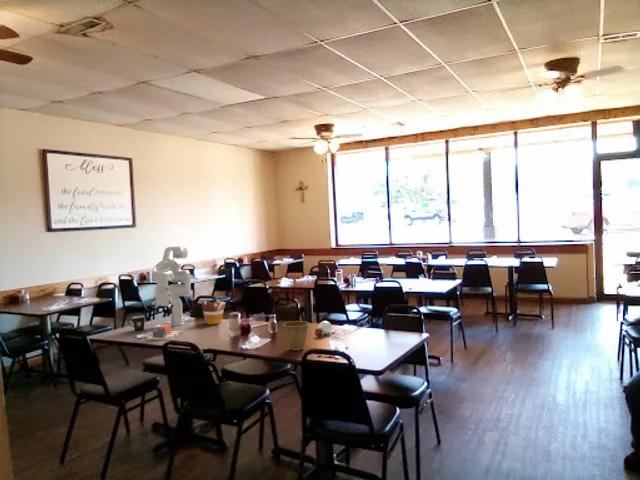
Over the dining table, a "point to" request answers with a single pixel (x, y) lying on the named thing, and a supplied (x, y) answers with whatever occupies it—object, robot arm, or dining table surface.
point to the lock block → (165, 328)
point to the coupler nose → (159, 333)
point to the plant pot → (296, 333)
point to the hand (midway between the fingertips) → (163, 313)
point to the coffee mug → (138, 323)
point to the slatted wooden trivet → (169, 336)
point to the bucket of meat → (213, 311)
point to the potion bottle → (323, 328)
